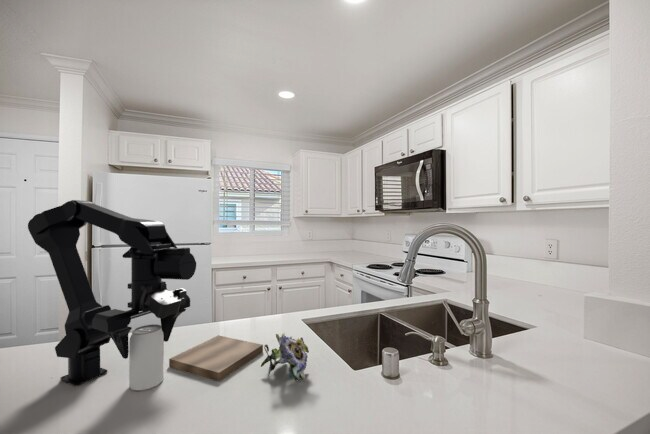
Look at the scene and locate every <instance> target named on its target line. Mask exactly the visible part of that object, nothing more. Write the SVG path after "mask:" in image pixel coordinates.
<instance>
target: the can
mask: <svg viewBox="0 0 650 434" xmlns="http://www.w3.org/2000/svg"><path fill="white" fill-rule="evenodd" d="M164 343H165V341H164V334H163V331H162V329H161V324H153V323H152V324H145V325H141V326H138V327H136V328H134V329H131V335H130V337H129V340H128V345H129V353H128V358H129V360H128V363H129V364H128V365H129V367H128V368H129V369H128V373H129V375H128V379H129V381H128V382H129V384H128V385H129V388H130V389H131V390H132V391H133V392H145V391H148V390H151V389H154V388H156V387H158V386H159V385H160V384H161V383H162V381H164V375H165V370H164V369H165V367H164V364H165V361H164V360H165V359H164V357H165V356H164V355H165V354H164V353H165V351H164V350H165V344H164Z"/></svg>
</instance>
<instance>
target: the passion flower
mask: <svg viewBox="0 0 650 434" xmlns="http://www.w3.org/2000/svg"><path fill="white" fill-rule="evenodd" d="M275 337H276V339H277V342H278V345H279V347H278V348H276V347H275V348H271V354H269V351H270V348H269V345H268V344H264V345H263V350H264V351H265V353H266V354H267V356H266V358H265V359H264V360H263V361H262V362H261V365H260V367H263V366H265V365H266V364H267V363H268V362H269V368H268V371H267V373H268V374H267V377H269V376H270V374H271V372H272V371H273V370H275V369H276V366H277V365H278V364H281V365H282V364H286V363H288V365H289V371H288V374H289V376H290V378H292V379H294V380H295V381H297V382H300V380H304V379H305V378H306V374H305V370H306V369H307V366H308V363H307V362H308V354H309V352H310V350H309V346H308V345H306V344H305V341H304V338H303V337H300V338H299V337H297V339H296V338H293V336H290V337H289V336H287V335H285V332H284V333H282V334H281V336H280V334H278V333H275ZM273 361H274V362H273Z"/></svg>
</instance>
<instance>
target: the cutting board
mask: <svg viewBox="0 0 650 434" xmlns="http://www.w3.org/2000/svg"><path fill="white" fill-rule="evenodd" d="M263 352H264V345H263V344H261V343H257V342H251V341H247V340H242V339H237V338H233V337H227V336H222V335H219V334H218V335H216V336H213V337H212V338H210V339H208V340H207V339H206V341H204V342H203V341H202V342H201V343H199V344H197V345H195V346H193V347H192V348H188V349H187V350H184V351H183V352H181V353H178V354H176V355H174V356H172V357H171V358H169V359H168V367H169V368H171V369H174V370H178V371H180V372H181V371H182V372H183V373H184V372H185V373H188V374H192V375H194V376H198V377H201V378H205V379H208V380H212V381H215V382H220V381H222V380H224V379H225V378H226V377H229V376H230V375H232V374H233V373H234V372H236V371H237V370H239V369H240V368H242V367H243V366H244V365H246V364H248V363H249V362H250V361H252V360H254V359H255V358H257V357H258V356H259V355H261V354H262V353H263Z"/></svg>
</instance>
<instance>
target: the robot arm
mask: <svg viewBox="0 0 650 434" xmlns="http://www.w3.org/2000/svg"><path fill="white" fill-rule="evenodd" d="M87 224H90V225H92V226H95V227H98V228H100V229H102V230H105V231H108V232H110V233H113V234H115V235H116V236H118V238H119V240H120V241H121V242H122V243H124V244H126V245H127V246H129V247H130V248H129V249H128V250H126V252H125V253H124V254H122V258H123V259H131V263H130V264H131V268H130V269H131V270H130V271H131V282H129V283H127V289H129V290H130V291H131V292H130V293H131V299H130V300H131V301H129V302H127V310H122V309H116V308H113V309H112V308H111V306H110V305H109V304H106V305H102V304H100V303H98V302H97V300H96V297H95V294H94V292H93V289H92V287H91V284H90V280H89V279H88V276H87V273H86V269H85V267H84V264H83V261H82V259H81V256H80V253H79V250H78V247H77V245H78V241H79V239H80V236H81V231H80V229H83V227H85V226H86V225H87ZM27 230H28V232H29V234H30V236H31V238H32V239H33V242H34V243H35V244H36V245H37V246H39V247H40V248H41V249H42V250H44V251H45V252H47V254H48V255H49V258H50V261H51V263H52V266H53V269H54V272H55V274H56V277H57V280H58V283H59V287H60V289H61V291H62V294H63V298H64V301H65V303H66V306H67V309H68V315H67V317H66V319H65V322H64V332H65V335H64V337H63V338H61V340H60V341H59V342H58V343H57V344H56V346H54V351H55V354H56V357H57V358H66V359H67V362H68V363H67V374H65V375H63V376H61V377H60V380H59V381H62V382H64V383H66V384H69V385H72V386H74V387H75V386H77V387H78V386H79V385H81V384H85V383H86V382H89V381H91V380H93V379H95V378H98V377H100V376H103V375H105V374H107V373H108V369H106V368H102V367H101V346H103V345H105V344H108V343H110V342H111V340H112V341H113V343H114V344H115V347H116V348H117V350H118V352H119V353H120V355H121V357H122V359H125V360H126V359H128V358H129V333H130V332H131V331H132V330H133V328H132V326H129V325H130V323H132V322H131V321H132V320H133V319H136V318H139V317H142V316H146V315H148V314H154V315H155V317H156V318H157V319H160V325H161V329H162V331H163V334H164V343H167V342H169V339H170V337H171V334H172V331H173V329H174V325H175V323H176V322H177V319H178V317H179V316H180V315H181V314H183V313H185V312H186V310H187V309H188V308H190V307H191V298H190V296H189V295H188V294H187V290H186V289H185V288H184V287H181V288H176V289H175V290H168V288H167V283H166V282H167V281H163V280H183V281H184V280H187V281H188V280H191V278H193V277H194V275H195V273H196V270H197V261H196V258H195V256H194V254H193V253H191V248H190V247H180V248H178V247H177V245H176V244H175V242H174V241H173V239H172V237H171V236H170V235H169V233H168V231H167V228H166V225H165V224H164V223H163V222H161V221H156V220H153V219H152V220H150V219H143V218H134V217H131V216H127V215H125V214H123V213H119V212H117V211H114V210H111V209H109V208H106V207H104V206H101V205H98V204H96V203H94V202H92V201H90V200H79V199H78V200H77V199H76V200H75V199H72V200H69V201H66V202H65V203H63V204H62V205H59V206H55V207H53V208H50V209H47V210H44V211H41V213H37V214H35V215H33V217H32V218H31V219H29V221H28V223H27ZM128 308H130V309H129V310H128Z"/></svg>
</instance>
